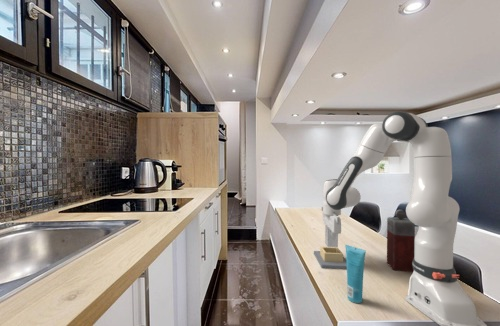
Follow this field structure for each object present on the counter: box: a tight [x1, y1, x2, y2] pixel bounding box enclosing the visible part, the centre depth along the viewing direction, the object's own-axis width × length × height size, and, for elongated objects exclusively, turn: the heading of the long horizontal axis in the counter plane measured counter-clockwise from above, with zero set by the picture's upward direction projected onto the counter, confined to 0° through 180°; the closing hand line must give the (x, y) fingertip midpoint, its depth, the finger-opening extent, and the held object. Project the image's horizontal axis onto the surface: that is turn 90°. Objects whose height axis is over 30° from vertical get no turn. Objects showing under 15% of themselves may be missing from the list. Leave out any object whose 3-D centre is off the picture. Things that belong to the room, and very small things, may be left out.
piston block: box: [324, 224, 339, 248], centre depth 119 cm, size 5×5×10 cm
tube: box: [344, 244, 367, 304], centre depth 85 cm, size 7×5×19 cm, turn 47°
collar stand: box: [313, 246, 347, 270], centre depth 119 cm, size 18×14×6 cm
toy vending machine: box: [386, 209, 416, 273], centre depth 114 cm, size 9×11×28 cm
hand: (331, 237), depth 119 cm, fingers closed on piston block, 5 cm apart
